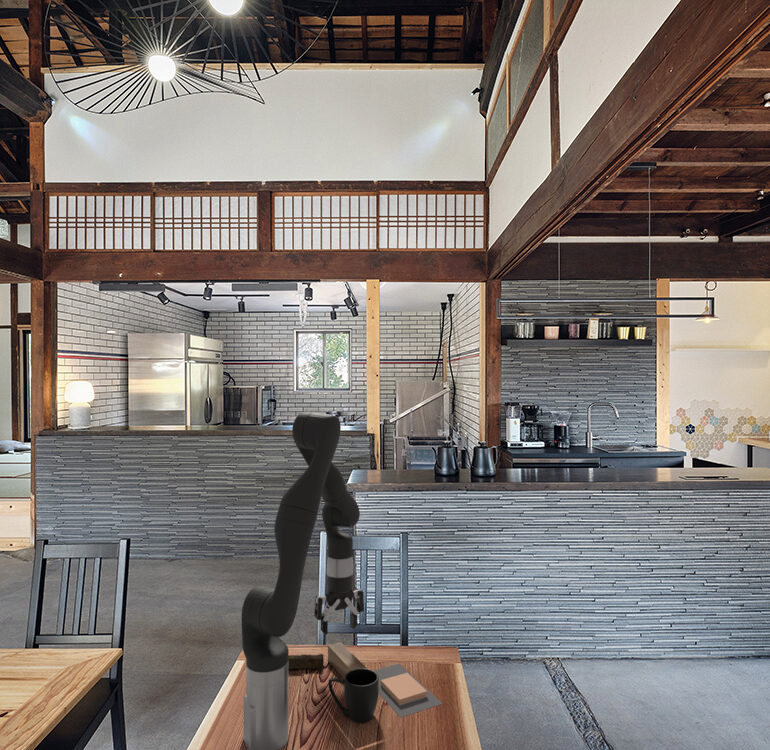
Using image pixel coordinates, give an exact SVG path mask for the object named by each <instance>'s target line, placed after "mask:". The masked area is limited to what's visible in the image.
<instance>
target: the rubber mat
mask: <svg viewBox="0 0 770 750" xmlns="http://www.w3.org/2000/svg"><path fill="white" fill-rule="evenodd" d="M373 671H375V672H376V673H377V674H378V676H379V693H378V696H380V697H381V698H382V699H383V700H384V701H385V702H386V703H387V705H388V706H389V707H390V708H391V709H392V710H393V711H394V712H395V713H396V715H397V716H399V717H400V718H403V717H406V716H409V715H412V714H416V713H418V712H422V711H426V710H428V709H431V708H434V707H437V706H440V705H443V704H444V703H443V702H442V701H440V700H439V698H438V697H436V696H435V695H434V693H432V692H431V691H430V690H429V689H428V688H426V687H425V685H424V684H422V683H421V682H420V681H419V680H418V679H417V678H416V677H415V676H414V675H412V673H410V672H409V671H408V670H407V669H406V668H405V667H404V666H403V665H402V664H401V663H396V664H392V665H389V666H385V667H382V668H378V669H373ZM404 673H408V674H409V675H410V676H412V677H413V678H414V679H415V680H416V681H417V682H418V683H419V684H420V685H421V686H422V687H423V688H424V689H426V690H427V698H424V699H421V700H418V701H415V702H412V703H408V704H405V705H402V706H399V705H398V704H397V703H396V702H395V701H394V700H393V699H392V698H391V697H390V696H389V694H388V693H387V692H386V691H385V690H384V689H383V688H382V687H381V680H383V679H387V678H390V677H394V676H397V675H401V674H404Z"/></svg>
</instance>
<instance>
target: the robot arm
mask: <svg viewBox="0 0 770 750" xmlns="http://www.w3.org/2000/svg"><path fill="white" fill-rule="evenodd" d="M292 423H293V424H292V428H291V429H292V438H293V441H294V443H295V446H296V447H297V449H298V451H299V453H300V455H301V456H302V458H303V460H304V462H305V463H306V464H307V467H306V469H305V471H304V472H303V473H302V474H301V475H300V476H299V478H298V479H297V480H295V482H294V483H293V484H292V485H290V486H289V488H288V489H287V491H285V493H284V494H283V496H282V498H281V500H280V502H279V506H278V509H277V512H276V513H277V514H276V517H275V520H274V525H273V526H274V527H273V528H274V529H273V531H274V532H273V533H274V538H275V544H276V548H277V553H278V559H279V560H278V561H279V563H278V564H279V568H278V576H277V578H276V579H277V580H276V584H275V588H274V587H270V586H266V585H257V586H255V587H253V588H252V589H251V590H250V591H249V592H248V593H247V595H245V598H244V600H243V603H242V607H241V638H242V639H241V640H242V641H241V642H242V651H243V654H244V657H245V660H246V661H245V663H246V664H245V665H246V668H245V669H246V671H245V676H246V680H245V681H246V682H245V683H246V685H245V686H246V687H245V690H246V691H245V695H244V696H243V735H242V736H243V741H244V743H245V747H246V749H247V750H281V749H282V748H284V747H285V745H286V744H287V742H288V740H289V727H290V726H289V684H290V681H289V673H290V672H289V670H290V669H289V655H290V654H289V647H288V645H287V644H286V643H285V642H284V641H283V640H282V639H281V637H283V636H285V635H286V634H287V633H288V632H289V631H290V629H291V628H292V627H293V624H294V622H295V619H296V617H297V616H296V615H297V612H298V607H299V603H300V602H299V600H300V595H301V589H302V583H303V578H304V577H303V576H304V572H305V571H304V570H305V566H306V560H307V556H308V551H309V548H310V544H311V540H312V535H313V532H314V530H315V525H316V521H317V517H318V514H319V509H320V506H321V505H320V504H321V499H322V501H323V502H324V505H323V507H322V511H321V519H322V521H323V525H324V529H325V533H326V534H325V535H326V538H327V539H326V540H327V562H326V570H325V571H326V593H325V595H321V596H320V595H318V594H317V595H316V596H315V599H314V600H315V601H314V609H313V610H314V613H313V616H314V618H315V619H316V620H318V621H320V631H321V632H322V633H323V634H324V636H325V635H328V633H329V631H328V630H329V627H328V626H329V621H328V619H329V618H330V616H331V615H332V614H333V613H334V611H339V610H346V609H347V608H348V609H349V611H350V612H351V613H349V614H350V615H349V616H350V617H349V625H350V628H351V629H353V630H354V629H356V627H357V626H358V615H359V614H360V613H363V612H364V610H365V604H364V603H365V601H364V600H365V599H364V598H365V597H364V591H363V590H361V588H359V587H357V588H356V589H355V590H353V589H354V558H353V554H354V553H353V549H354V548H353V547H354V545H353V543H354V541H353V540H354V539H353V536H352V535H350V534H348V533H346V532H343V531H341V530H340V529H339V527H344V528H345V527H346V528H351V527H354V526H356V525H357V524H358V522H359V521H360V517H361V516H360V515H361V512H360V508H359V505H358V503H357V501H356V500H355V498H354V497H353V496H352V495H351V493H350V492H349V490H348V489H347V486H346V483H345V479H344V476H343V473H342V472H341V471H340V469H339V468H338V467H337V466H336V464H334V462H332V461H333V459H334V456H335V453H336V450H337V447H338V444H339V440H340V436H341V421H340V419H339V417H338V416H336V415H334V414H328V413H319V412H318V413H317V412H312V411H311V412H310V411H307V412H305V411H304V412H303V411H302V412H301V413H299V414H298V415H297V416H296V417H295V419H294V421H293V422H292ZM354 597H355V602H356V603H355V604H356V606H355V605H354V604H353V603H352V600H353V598H354ZM325 602H326V604H324V603H325ZM323 605H325V606H324V608H323Z"/></svg>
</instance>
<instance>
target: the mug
mask: <svg viewBox="0 0 770 750" xmlns="http://www.w3.org/2000/svg"><path fill="white" fill-rule="evenodd" d="M335 682H336V683H338V684H339V683H340V684H342V685H343V687H344V701H345V704H346V707H345V706H343V704H342V703H341V701H340V699H339V698H338V696H337V694H336V692H335V690H334V688H333V684H332V683H335ZM327 684H328V690H329V693H330V694H331V697H332V698H333V700H334V702H335V704H336V705H337V707H338V708H339V710H340V711H341V713H342V714H343V715H344V716H345V717H349V719H350V720H351V721H352V722H353V723H356V724H365V723H369V722H371V720H373V719H374V715H375V711H376V707H377V705H378V699H379V676H378V674H377V673H376V672H375V671H374V669H371V668H370V669H369V668H367V669H365V668H359V669H354V670H351V671H349V672H348V673H347V674H346V675H345V677H344V678H338V677H332V678H329V680H328V683H327Z"/></svg>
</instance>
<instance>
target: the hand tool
mask: <svg viewBox="0 0 770 750" xmlns="http://www.w3.org/2000/svg"><path fill="white" fill-rule="evenodd" d="M324 659H325V658H324V654H323V653H319V654H300V655H299V654H295V655H294V654H293V655H292V654H291V655H290V654H289V670H291V669H294V670H296V669H297V670H319V671H322V670H323V667H324Z"/></svg>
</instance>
